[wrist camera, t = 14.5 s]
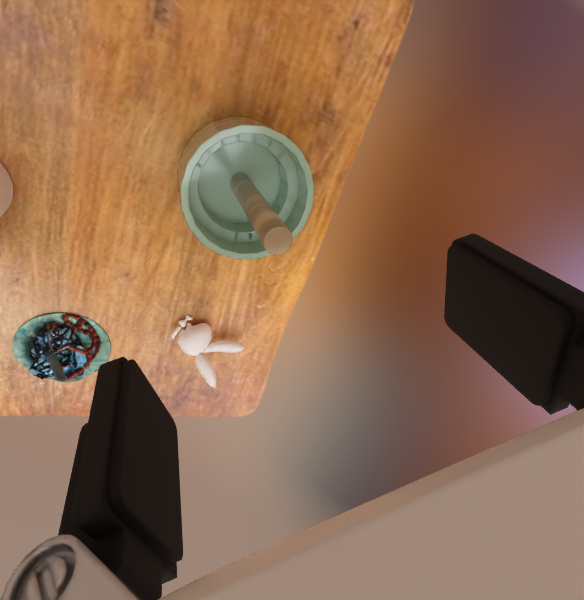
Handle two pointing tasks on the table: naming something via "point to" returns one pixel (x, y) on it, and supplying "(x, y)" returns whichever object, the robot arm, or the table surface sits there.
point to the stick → (261, 215)
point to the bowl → (261, 171)
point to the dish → (61, 347)
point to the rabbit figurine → (202, 346)
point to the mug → (5, 191)
